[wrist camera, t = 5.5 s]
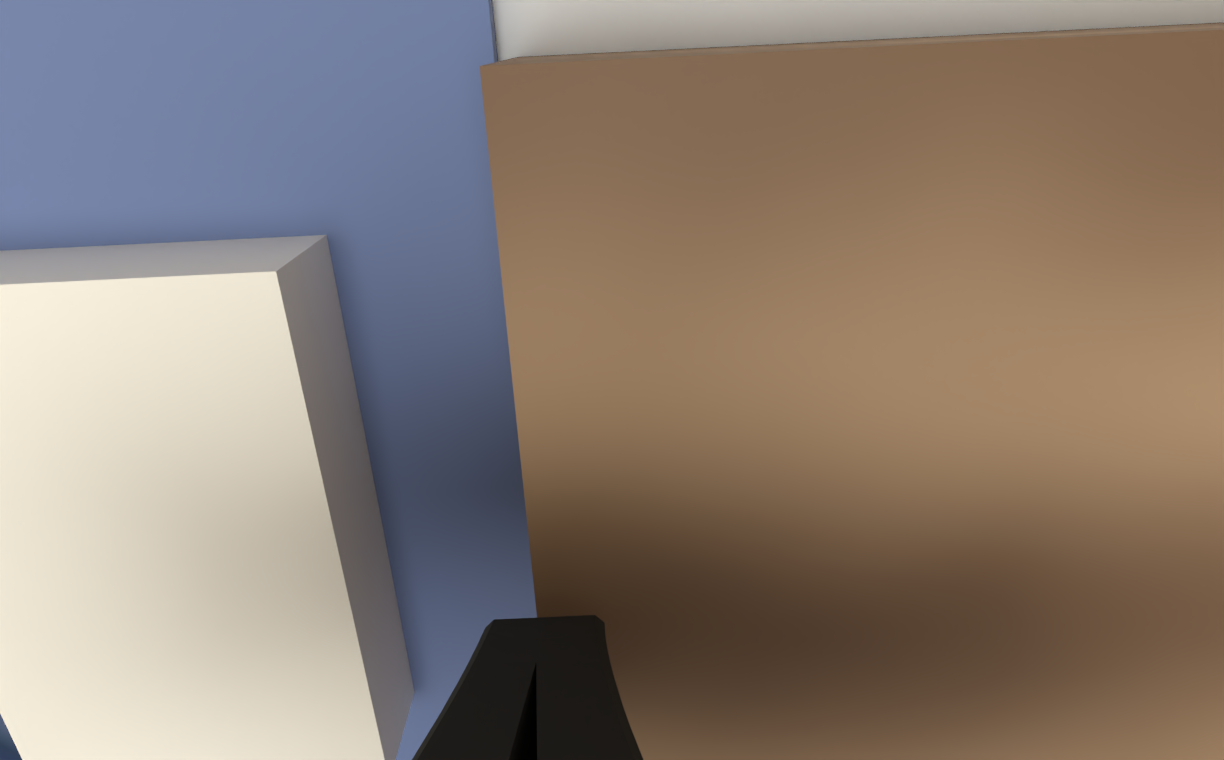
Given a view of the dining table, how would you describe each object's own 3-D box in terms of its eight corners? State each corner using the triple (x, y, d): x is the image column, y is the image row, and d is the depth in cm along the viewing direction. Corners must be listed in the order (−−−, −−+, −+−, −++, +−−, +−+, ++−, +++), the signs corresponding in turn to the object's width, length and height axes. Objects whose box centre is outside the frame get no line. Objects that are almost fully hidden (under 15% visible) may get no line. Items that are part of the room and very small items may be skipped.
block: (40, 797, 13) (107, 706, 15) (389, 780, 13) (414, 692, 15) (-200, 294, 10) (-75, 254, 12) (275, 271, 10) (326, 235, 12)
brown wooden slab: (1424, 727, 17) (1659, 922, 13) (579, 766, 17) (573, 971, 13) (1790, -5, 11) (2381, -27, 7) (518, 56, 11) (479, 65, 7)
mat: (569, 816, 17) (568, 832, 17) (176, 834, 17) (167, 851, 17) (485, -63, 11) (481, -67, 10) (-161, -31, 11) (-188, -34, 10)
